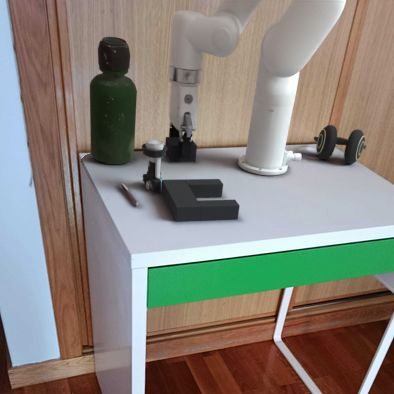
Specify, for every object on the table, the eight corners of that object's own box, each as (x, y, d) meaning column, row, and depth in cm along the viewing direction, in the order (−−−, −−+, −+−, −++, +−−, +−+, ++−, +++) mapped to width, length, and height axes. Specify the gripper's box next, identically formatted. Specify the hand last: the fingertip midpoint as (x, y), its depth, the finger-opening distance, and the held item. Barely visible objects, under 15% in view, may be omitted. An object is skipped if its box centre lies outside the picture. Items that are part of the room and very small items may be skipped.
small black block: (189, 152, 130) (190, 137, 128) (195, 161, 125) (196, 145, 123) (164, 152, 129) (165, 136, 126) (170, 162, 124) (171, 145, 121)
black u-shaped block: (217, 191, 112) (219, 178, 110) (237, 219, 102) (239, 205, 100) (161, 193, 109) (161, 179, 107) (175, 221, 98) (176, 207, 96)
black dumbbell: (308, 158, 133) (310, 152, 150) (364, 167, 131) (360, 160, 148) (316, 123, 129) (318, 121, 146) (374, 132, 127) (369, 129, 144)
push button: (133, 184, 111) (133, 137, 105) (152, 180, 114) (154, 134, 107) (150, 195, 107) (151, 147, 101) (170, 190, 110) (172, 144, 104)
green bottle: (136, 149, 126) (141, 37, 108) (130, 168, 119) (135, 52, 101) (95, 143, 125) (93, 29, 108) (86, 162, 118) (84, 43, 100)
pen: (119, 186, 109) (119, 181, 108) (122, 185, 109) (122, 181, 109) (136, 207, 101) (136, 202, 101) (140, 207, 102) (140, 202, 101)
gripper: (210, 85, 110) (202, 163, 121) (191, 67, 122) (185, 139, 133) (177, 83, 108) (172, 163, 119) (161, 66, 120) (157, 139, 131)
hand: (179, 150), depth 126 cm, fingers open, 9 cm apart
